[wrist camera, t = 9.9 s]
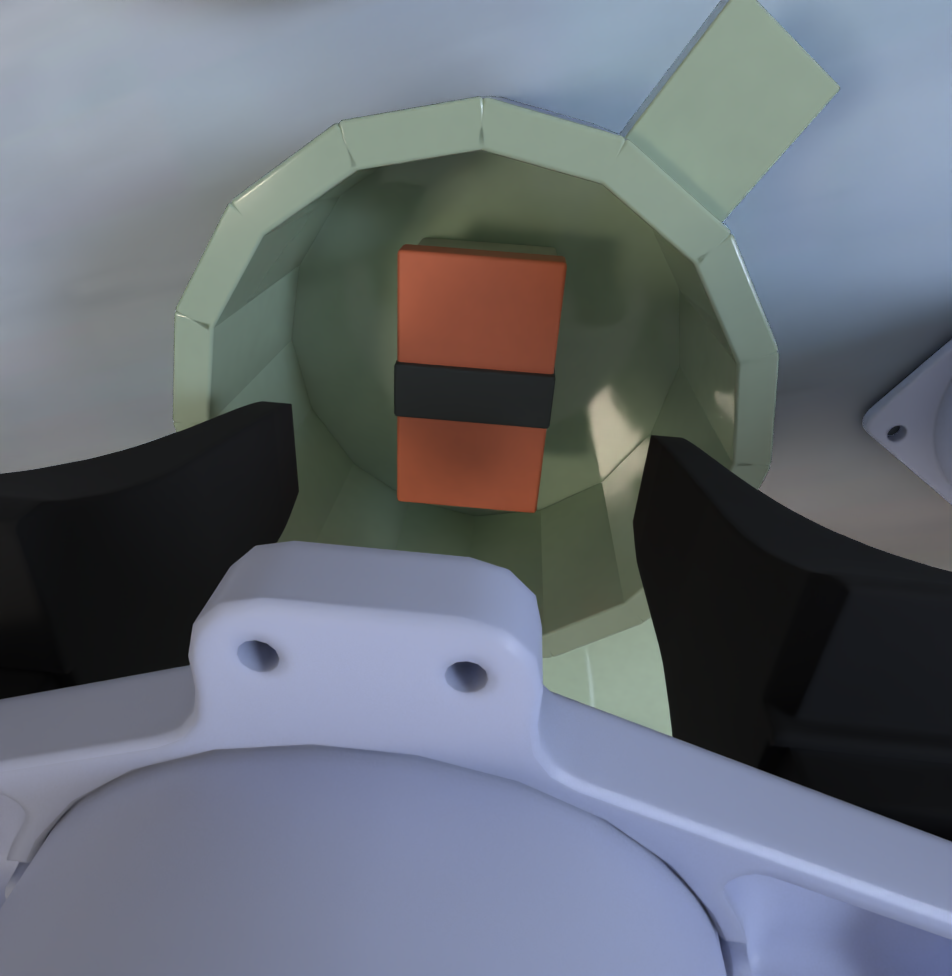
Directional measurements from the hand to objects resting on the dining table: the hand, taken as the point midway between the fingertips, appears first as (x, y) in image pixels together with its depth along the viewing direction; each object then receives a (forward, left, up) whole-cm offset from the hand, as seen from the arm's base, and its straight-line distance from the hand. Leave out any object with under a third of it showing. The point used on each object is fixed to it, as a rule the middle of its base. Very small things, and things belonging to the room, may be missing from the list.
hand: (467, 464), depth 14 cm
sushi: (0, 0, -7) cm, 7 cm away
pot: (0, 0, -7) cm, 7 cm away
